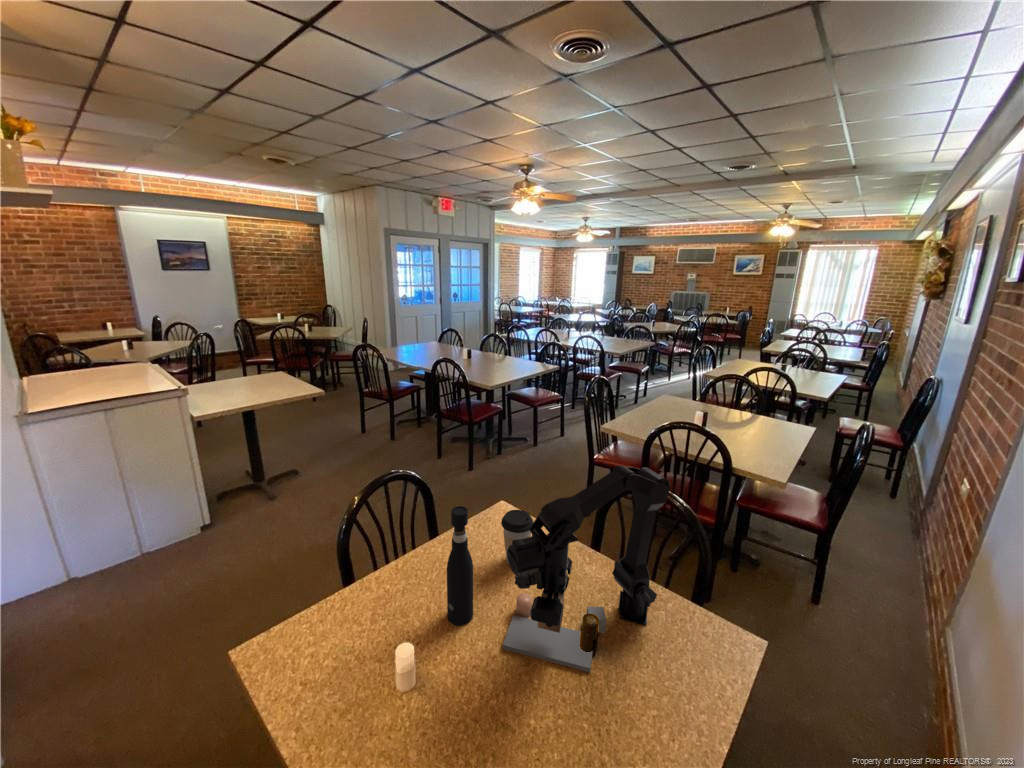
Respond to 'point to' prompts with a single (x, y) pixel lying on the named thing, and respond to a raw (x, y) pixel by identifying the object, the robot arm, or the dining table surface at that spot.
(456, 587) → the black water bottle
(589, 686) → the dining table surface
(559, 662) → the slate board
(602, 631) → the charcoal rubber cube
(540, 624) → the walnut block
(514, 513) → the coffee cup
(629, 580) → the robot arm
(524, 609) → the terracotta cylinder
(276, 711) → the dining table surface
